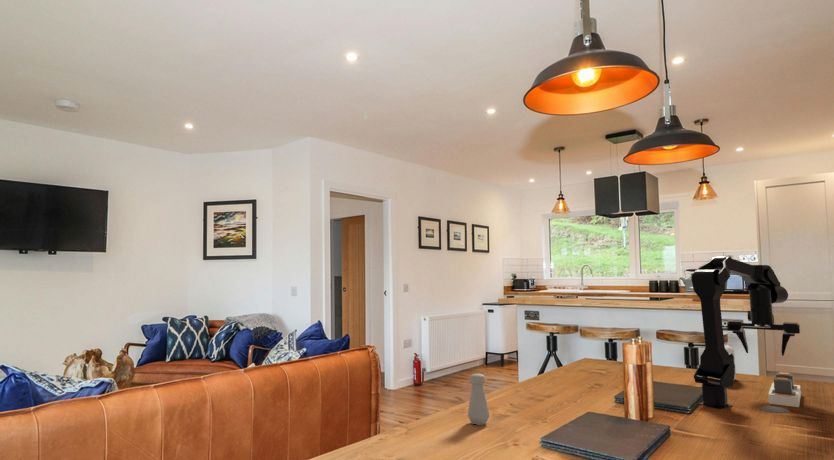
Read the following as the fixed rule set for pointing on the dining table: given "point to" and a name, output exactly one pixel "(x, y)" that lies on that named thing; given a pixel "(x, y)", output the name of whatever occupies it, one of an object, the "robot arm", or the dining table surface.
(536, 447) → the dining table surface
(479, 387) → the salt shaker
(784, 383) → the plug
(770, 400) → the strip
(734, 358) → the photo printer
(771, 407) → the coaster
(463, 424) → the dining table surface
